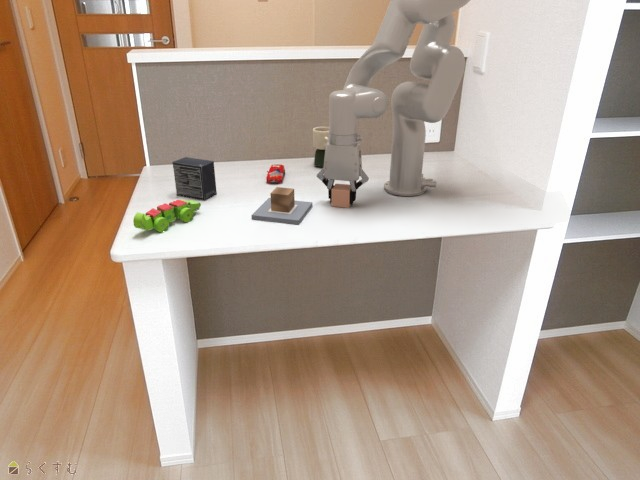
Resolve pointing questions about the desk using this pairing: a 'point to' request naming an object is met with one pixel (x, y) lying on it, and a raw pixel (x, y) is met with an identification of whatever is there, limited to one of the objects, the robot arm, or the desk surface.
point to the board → (282, 213)
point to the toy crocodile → (166, 215)
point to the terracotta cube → (341, 195)
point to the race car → (275, 174)
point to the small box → (195, 178)
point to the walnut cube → (282, 199)
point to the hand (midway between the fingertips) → (342, 201)
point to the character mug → (320, 144)
